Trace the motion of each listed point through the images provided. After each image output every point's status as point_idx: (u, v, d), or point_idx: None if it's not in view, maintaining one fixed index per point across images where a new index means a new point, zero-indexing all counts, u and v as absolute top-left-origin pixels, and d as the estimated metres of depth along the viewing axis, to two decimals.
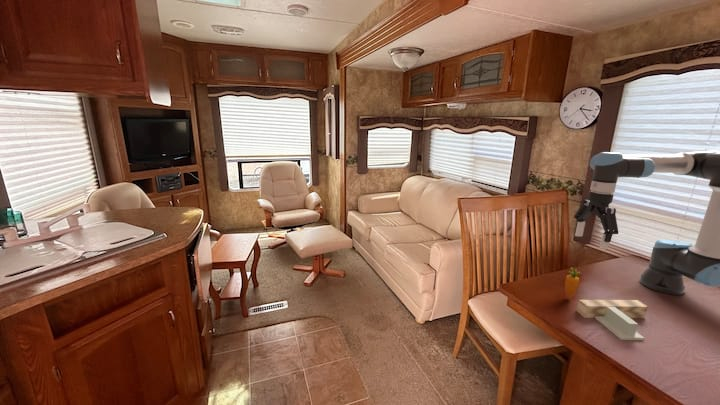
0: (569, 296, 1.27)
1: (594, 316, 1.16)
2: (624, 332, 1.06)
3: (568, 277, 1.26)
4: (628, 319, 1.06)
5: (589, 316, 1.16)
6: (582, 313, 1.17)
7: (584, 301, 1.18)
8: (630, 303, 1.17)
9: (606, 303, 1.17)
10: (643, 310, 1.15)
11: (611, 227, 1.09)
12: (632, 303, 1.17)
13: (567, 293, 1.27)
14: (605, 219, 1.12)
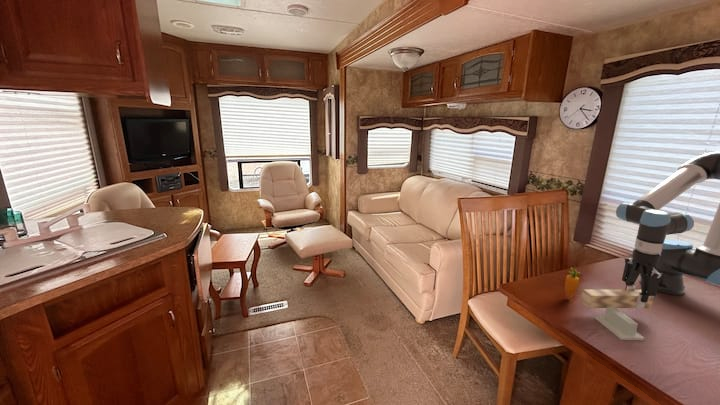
0: (569, 296, 1.27)
1: (599, 306, 1.15)
2: (624, 332, 1.06)
3: (568, 277, 1.26)
4: (628, 319, 1.06)
5: (594, 305, 1.15)
6: (586, 303, 1.16)
7: (588, 291, 1.17)
8: (636, 293, 1.15)
9: (611, 292, 1.15)
10: (650, 299, 1.13)
11: (650, 290, 1.08)
12: (638, 292, 1.15)
13: (567, 293, 1.27)
14: (647, 280, 1.10)
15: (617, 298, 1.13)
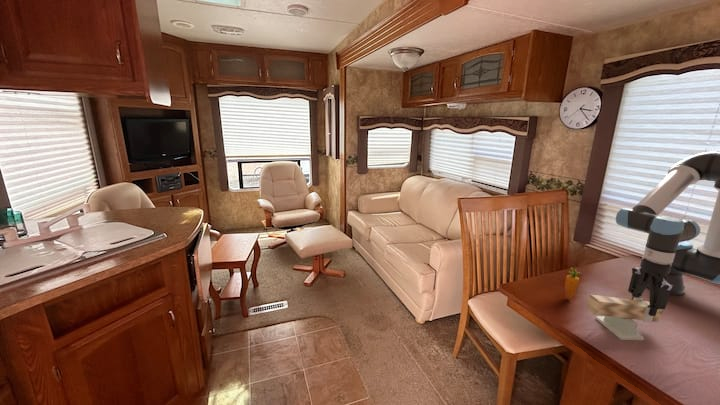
0: (569, 296, 1.27)
1: (605, 313, 1.06)
2: (624, 332, 1.06)
3: (568, 277, 1.26)
4: (628, 319, 1.06)
5: (600, 312, 1.06)
6: (592, 309, 1.07)
7: (596, 296, 1.08)
8: (645, 304, 1.07)
9: (619, 300, 1.07)
10: (659, 312, 1.05)
11: (660, 303, 1.00)
12: (647, 304, 1.07)
13: (567, 293, 1.27)
14: (656, 292, 1.03)
15: (625, 307, 1.05)
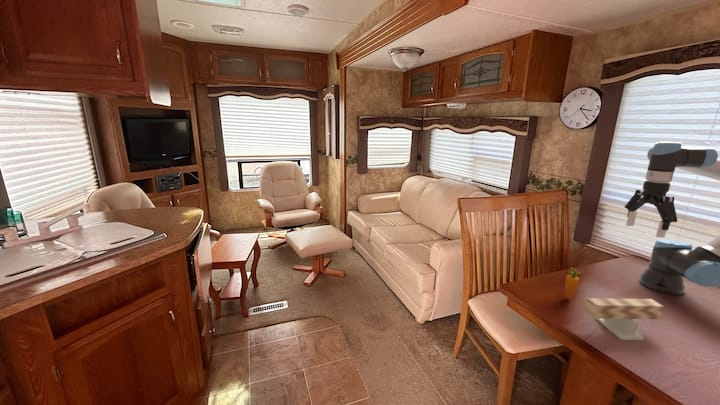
0: (569, 296, 1.27)
1: (604, 316, 1.06)
2: (624, 332, 1.06)
3: (568, 277, 1.26)
4: (628, 319, 1.06)
5: (599, 316, 1.06)
6: (591, 313, 1.08)
7: (593, 300, 1.08)
8: (643, 302, 1.07)
9: (617, 302, 1.07)
10: (658, 310, 1.05)
11: (670, 215, 1.10)
12: (646, 302, 1.07)
13: (567, 293, 1.27)
14: (662, 208, 1.14)
15: (623, 308, 1.05)
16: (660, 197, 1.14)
